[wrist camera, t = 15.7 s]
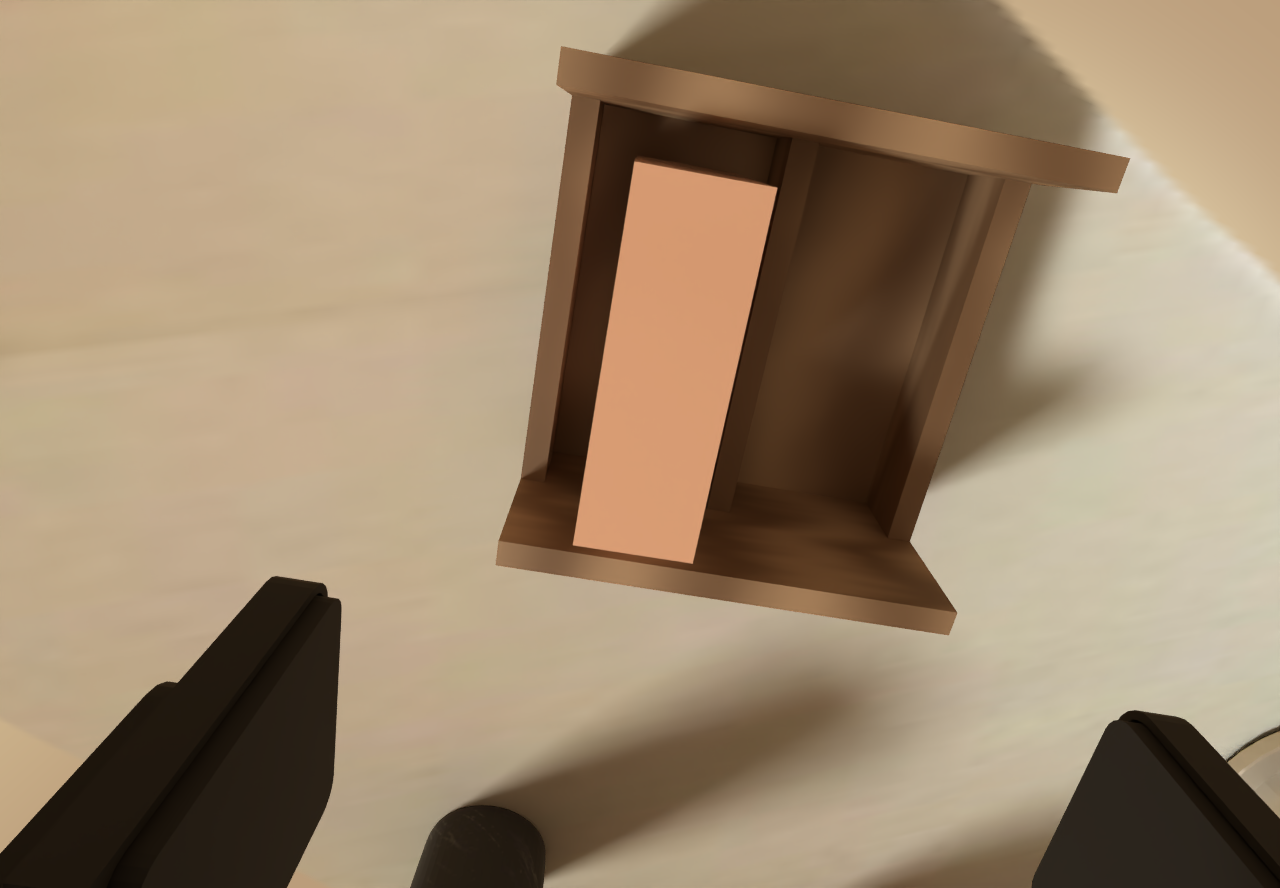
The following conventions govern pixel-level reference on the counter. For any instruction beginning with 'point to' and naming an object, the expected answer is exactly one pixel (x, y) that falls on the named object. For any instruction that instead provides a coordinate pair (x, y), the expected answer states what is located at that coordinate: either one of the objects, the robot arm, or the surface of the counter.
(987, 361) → the counter surface
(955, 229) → the wooden crate
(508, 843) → the travel mug
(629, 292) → the peach rectangular block
